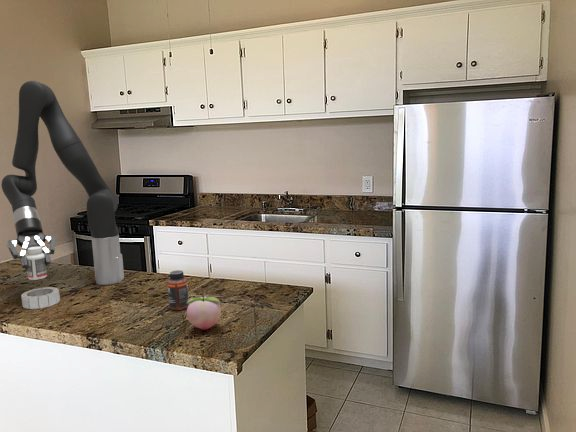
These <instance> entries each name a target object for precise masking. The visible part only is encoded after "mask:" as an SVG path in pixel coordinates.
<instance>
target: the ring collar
mask: <svg viewBox="0 0 576 432" xmlns="http://www.w3.org/2000/svg"><path fill="white" fill-rule="evenodd" d="M20 295H21V296H20V297H21V306H22V307H23V309H27V310H39V309H43V308H48V307H52V306H54V305H56V304H58V303H60V301H61V296H60V289H58V287H53V286H49V287H46V286H45V287H38V288H33V289H31V290H30V289H29V290H28V291H27V290H26V291H25V292H23V293H22V294H20Z"/></svg>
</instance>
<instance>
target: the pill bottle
mask: <svg viewBox="0 0 576 432" xmlns="http://www.w3.org/2000/svg"><path fill="white" fill-rule="evenodd" d="M25 256H26V260H27V265H28V269H26V273H27V278H28V280H30V281H36V280H37V281H38V280H42V279H45V278H46V277H48V273H47V266H46V261H45V255H44V254H43V253H42V247H30V248H28V249H27V254H26V255H25Z"/></svg>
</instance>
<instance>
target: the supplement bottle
mask: <svg viewBox="0 0 576 432" xmlns="http://www.w3.org/2000/svg"><path fill="white" fill-rule="evenodd" d="M184 275H185V274H184V271H183V270H173V271H170V272H169V277H170V278H169V279H167V294H168V308H169V309H170V310H172V311H182V310H185V309H186V310H187V308H188V306H189V304H190V303H187V302H188V301H189V300H190V299H189V288H188V279H187V278H186V277H185V276H184ZM186 303H187V304H186Z"/></svg>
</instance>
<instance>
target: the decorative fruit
mask: <svg viewBox="0 0 576 432" xmlns="http://www.w3.org/2000/svg"><path fill="white" fill-rule="evenodd" d="M187 303H189V306H188V307H187V308H186V318H187V321H188V322H189V323H190V324H191V325H192V326H193V327H196V328H198V329H200V330H208V329H210V328H212V327H213V326H215V325H216V324H217V323H218V322H220V319H221V316H222V309H221V305H220V304H221V303H222V302H221V301H220V300H219V298H217V297H215V296H204V293H202V296H200V297H199V296H198V297H196V296H195V297H193V298H190V299H189V301H188V302H187ZM187 303H186V304H187Z"/></svg>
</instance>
